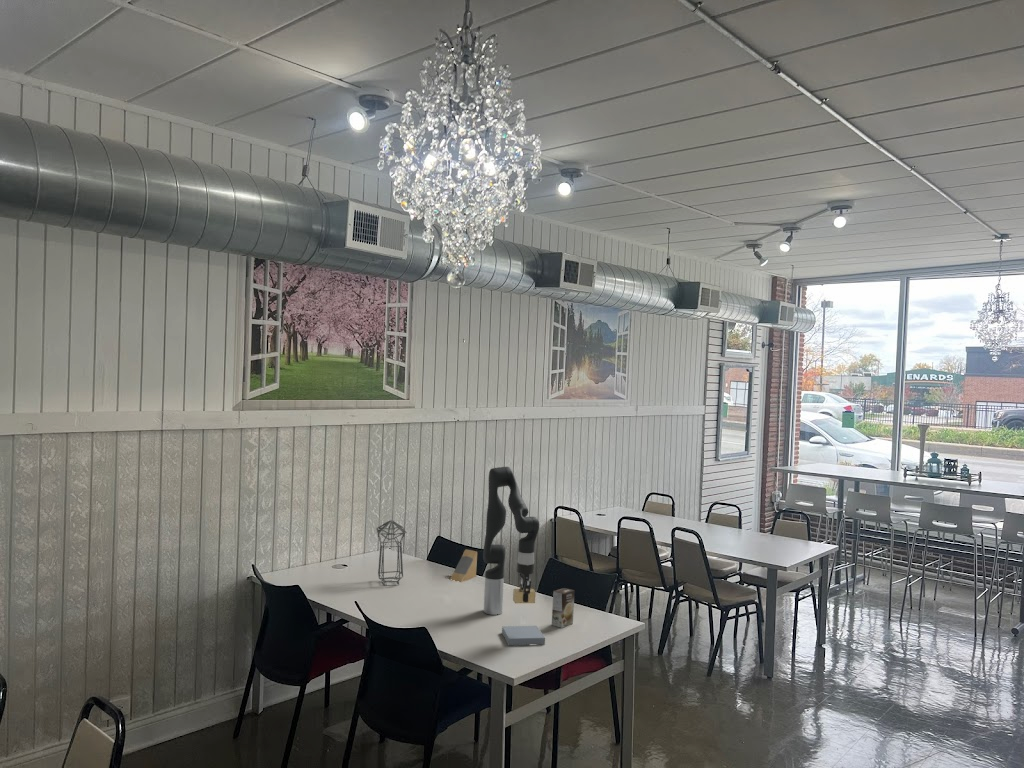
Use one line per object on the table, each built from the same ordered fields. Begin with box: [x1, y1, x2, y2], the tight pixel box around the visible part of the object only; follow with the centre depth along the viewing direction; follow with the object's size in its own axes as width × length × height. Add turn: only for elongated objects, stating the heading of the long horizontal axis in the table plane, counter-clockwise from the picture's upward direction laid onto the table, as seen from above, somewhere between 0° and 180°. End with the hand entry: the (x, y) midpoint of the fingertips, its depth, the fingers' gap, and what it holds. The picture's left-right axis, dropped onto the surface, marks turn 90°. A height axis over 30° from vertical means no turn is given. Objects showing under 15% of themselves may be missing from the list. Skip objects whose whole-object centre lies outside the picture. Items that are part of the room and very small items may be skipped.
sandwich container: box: [449, 549, 478, 583], centre depth 424 cm, size 9×15×15 cm, turn 149°
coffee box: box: [551, 587, 576, 629], centre depth 350 cm, size 9×6×16 cm
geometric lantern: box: [375, 519, 407, 586], centre depth 407 cm, size 16×16×35 cm
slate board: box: [501, 625, 546, 646], centre depth 328 cm, size 16×16×3 cm
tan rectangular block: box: [512, 588, 537, 604], centre depth 328 cm, size 5×9×5 cm, turn 101°
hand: (524, 599), depth 328 cm, fingers closed on tan rectangular block, 5 cm apart
